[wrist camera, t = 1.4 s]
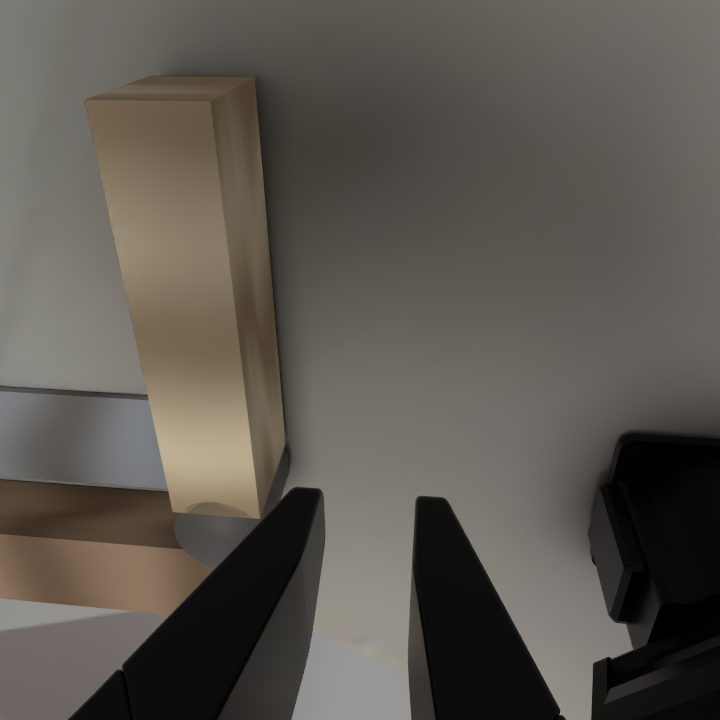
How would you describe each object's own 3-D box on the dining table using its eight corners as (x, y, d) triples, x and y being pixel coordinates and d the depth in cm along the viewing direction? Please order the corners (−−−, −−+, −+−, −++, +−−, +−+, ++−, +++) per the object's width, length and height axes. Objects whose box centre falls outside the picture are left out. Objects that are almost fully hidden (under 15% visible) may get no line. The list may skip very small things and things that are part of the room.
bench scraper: (272, 403, 24) (252, 453, 22) (288, 566, 29) (272, 624, 27) (-161, 377, 26) (-226, 420, 24) (-81, 535, 31) (-128, 586, 28)
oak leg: (292, 494, 26) (269, 573, 23) (215, 488, 26) (181, 565, 23) (258, 76, 18) (214, 101, 15) (147, 75, 18) (80, 99, 15)
